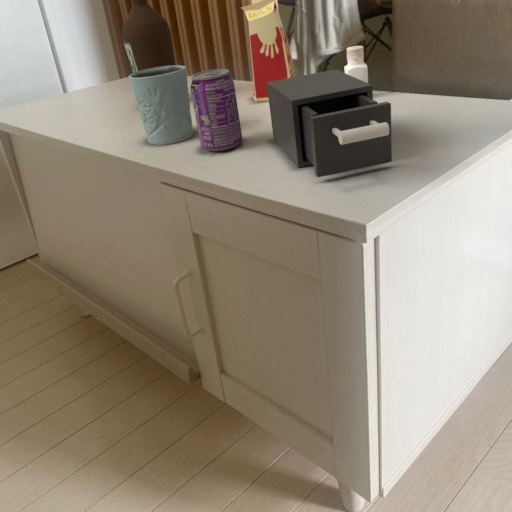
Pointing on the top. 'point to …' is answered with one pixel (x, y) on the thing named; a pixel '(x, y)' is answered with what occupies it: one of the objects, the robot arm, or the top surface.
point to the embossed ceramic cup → (163, 103)
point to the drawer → (345, 133)
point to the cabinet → (303, 92)
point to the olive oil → (147, 38)
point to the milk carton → (267, 47)
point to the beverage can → (216, 109)
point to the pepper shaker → (356, 63)
